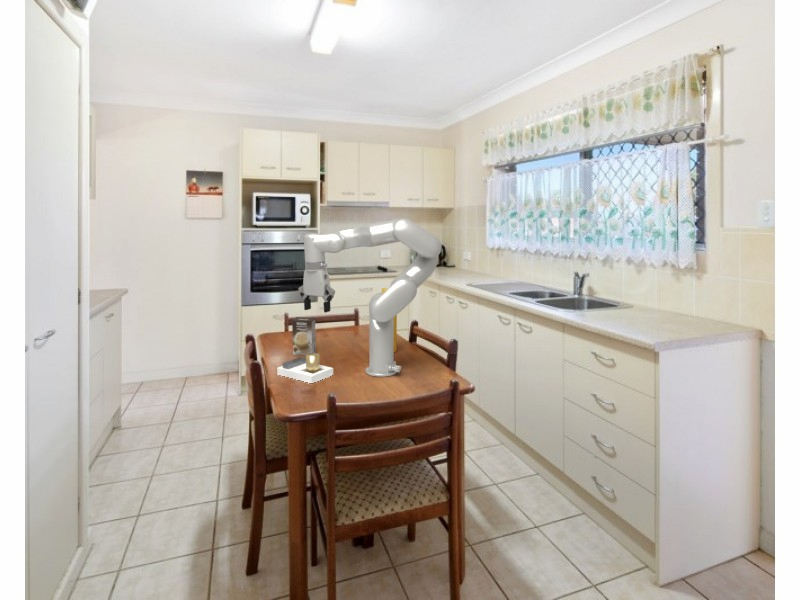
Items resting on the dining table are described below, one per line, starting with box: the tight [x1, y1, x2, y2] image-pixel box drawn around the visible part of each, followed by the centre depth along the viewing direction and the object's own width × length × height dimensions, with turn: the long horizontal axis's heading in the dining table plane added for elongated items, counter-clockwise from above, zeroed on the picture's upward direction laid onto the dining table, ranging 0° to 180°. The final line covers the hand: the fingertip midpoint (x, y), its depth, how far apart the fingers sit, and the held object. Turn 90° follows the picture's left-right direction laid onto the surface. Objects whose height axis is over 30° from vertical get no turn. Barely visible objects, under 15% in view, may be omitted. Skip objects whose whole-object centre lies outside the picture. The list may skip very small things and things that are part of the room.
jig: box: [276, 356, 334, 384], centre depth 186 cm, size 18×12×5 cm, turn 57°
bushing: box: [305, 352, 320, 374], centre depth 184 cm, size 5×5×9 cm
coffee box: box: [291, 316, 317, 356], centre depth 214 cm, size 9×6×16 cm
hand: (317, 310), depth 185 cm, fingers open, 9 cm apart
